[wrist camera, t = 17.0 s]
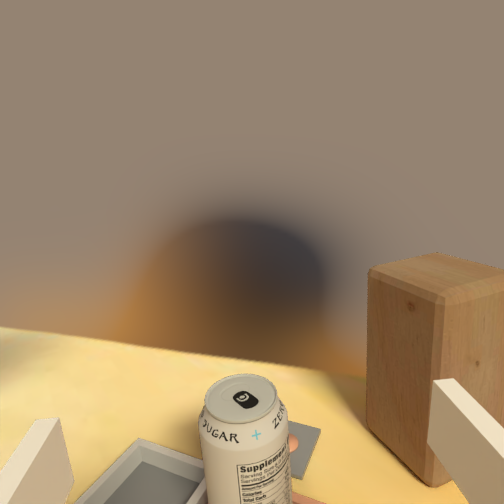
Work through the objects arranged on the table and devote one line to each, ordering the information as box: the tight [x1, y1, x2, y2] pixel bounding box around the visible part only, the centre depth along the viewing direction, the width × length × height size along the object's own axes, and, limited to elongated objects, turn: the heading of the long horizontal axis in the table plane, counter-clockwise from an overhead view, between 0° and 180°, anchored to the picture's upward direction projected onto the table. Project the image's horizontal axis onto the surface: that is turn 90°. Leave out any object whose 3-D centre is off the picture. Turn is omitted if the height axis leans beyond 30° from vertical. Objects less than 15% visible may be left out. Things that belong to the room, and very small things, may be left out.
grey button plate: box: [288, 421, 321, 480], centre depth 42 cm, size 12×7×1 cm, turn 65°
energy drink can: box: [198, 374, 293, 504], centre depth 26 cm, size 6×6×15 cm
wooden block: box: [366, 252, 504, 487], centre depth 38 cm, size 10×10×20 cm
